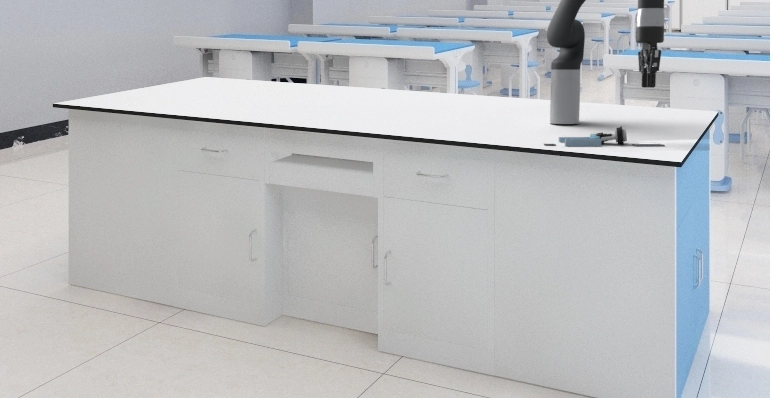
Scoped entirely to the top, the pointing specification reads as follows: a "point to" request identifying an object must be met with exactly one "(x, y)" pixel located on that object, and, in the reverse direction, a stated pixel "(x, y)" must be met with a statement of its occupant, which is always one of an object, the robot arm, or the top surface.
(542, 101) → the top surface
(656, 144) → the mat
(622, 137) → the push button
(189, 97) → the top surface
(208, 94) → the top surface
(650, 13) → the robot arm
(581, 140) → the channel
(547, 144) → the trap plate
